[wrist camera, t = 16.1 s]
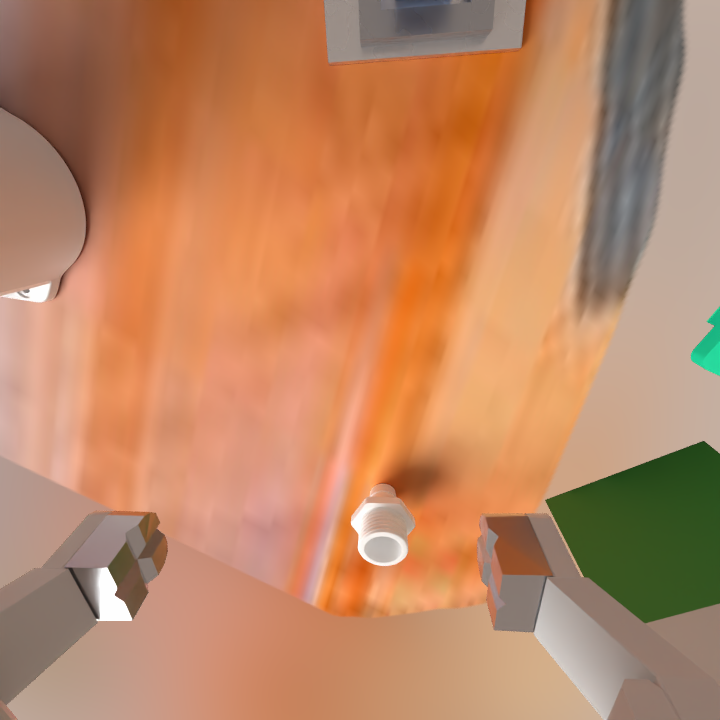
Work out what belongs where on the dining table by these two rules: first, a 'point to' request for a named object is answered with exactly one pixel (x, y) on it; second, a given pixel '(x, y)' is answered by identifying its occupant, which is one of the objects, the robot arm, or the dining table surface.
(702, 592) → the hardback book
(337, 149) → the dining table surface
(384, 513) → the pipe fitting
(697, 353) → the camera mount
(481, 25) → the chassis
